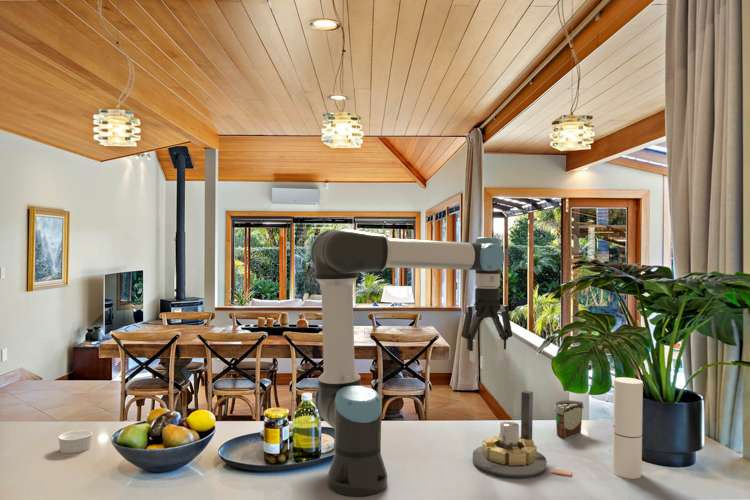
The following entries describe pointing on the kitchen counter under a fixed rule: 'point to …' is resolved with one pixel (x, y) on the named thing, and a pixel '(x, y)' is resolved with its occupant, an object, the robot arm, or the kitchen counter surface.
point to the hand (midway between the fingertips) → (486, 360)
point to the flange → (507, 440)
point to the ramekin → (75, 441)
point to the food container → (568, 418)
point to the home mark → (561, 472)
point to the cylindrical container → (627, 427)
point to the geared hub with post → (526, 445)
